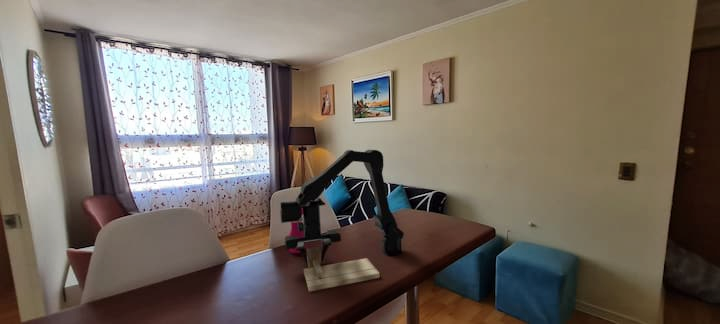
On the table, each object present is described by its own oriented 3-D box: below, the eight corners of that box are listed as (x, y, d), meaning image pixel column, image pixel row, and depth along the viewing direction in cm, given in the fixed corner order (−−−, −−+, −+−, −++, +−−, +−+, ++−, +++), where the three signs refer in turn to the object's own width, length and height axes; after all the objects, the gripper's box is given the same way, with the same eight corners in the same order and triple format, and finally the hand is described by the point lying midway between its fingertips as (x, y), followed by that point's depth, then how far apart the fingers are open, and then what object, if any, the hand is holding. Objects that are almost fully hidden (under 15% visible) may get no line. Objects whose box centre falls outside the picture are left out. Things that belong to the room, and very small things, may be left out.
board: (367, 262, 101) (366, 258, 101) (379, 277, 89) (379, 272, 89) (304, 273, 94) (303, 268, 94) (308, 291, 83) (308, 286, 83)
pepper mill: (302, 254, 110) (299, 203, 108) (285, 253, 111) (282, 203, 110) (309, 247, 117) (307, 199, 115) (293, 246, 118) (290, 199, 117)
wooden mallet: (318, 262, 103) (318, 247, 102) (327, 283, 87) (326, 265, 87) (307, 264, 101) (306, 249, 101) (314, 285, 86) (313, 268, 86)
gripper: (333, 210, 108) (335, 250, 110) (282, 216, 103) (285, 258, 104) (340, 217, 98) (342, 261, 99) (284, 224, 92) (287, 271, 93)
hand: (314, 262), depth 99 cm, fingers open, 5 cm apart
